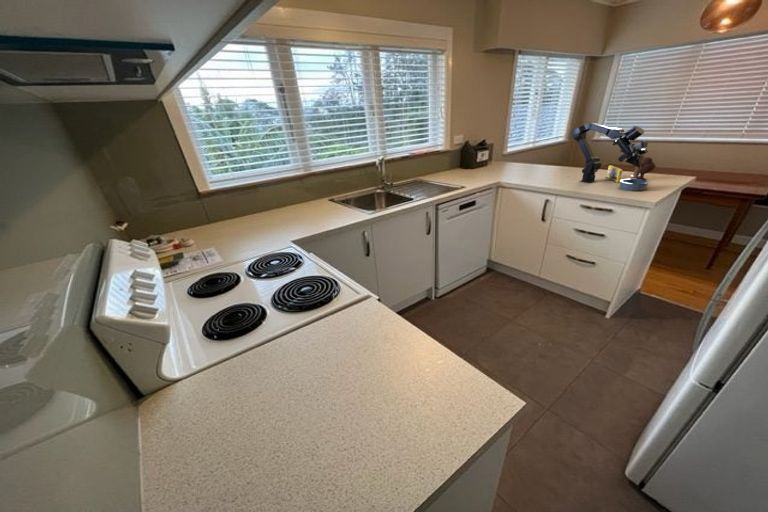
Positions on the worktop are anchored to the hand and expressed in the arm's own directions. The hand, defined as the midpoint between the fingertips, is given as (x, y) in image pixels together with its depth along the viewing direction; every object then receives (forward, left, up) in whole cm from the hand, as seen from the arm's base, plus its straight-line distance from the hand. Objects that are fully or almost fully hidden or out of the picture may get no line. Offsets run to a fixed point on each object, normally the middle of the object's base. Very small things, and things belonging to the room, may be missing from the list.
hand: (641, 166), depth 176 cm
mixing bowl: (-1, 0, -13) cm, 14 cm away
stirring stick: (-1, 0, -7) cm, 7 cm away
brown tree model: (-9, +26, -14) cm, 31 cm away
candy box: (-21, +16, -14) cm, 30 cm away
